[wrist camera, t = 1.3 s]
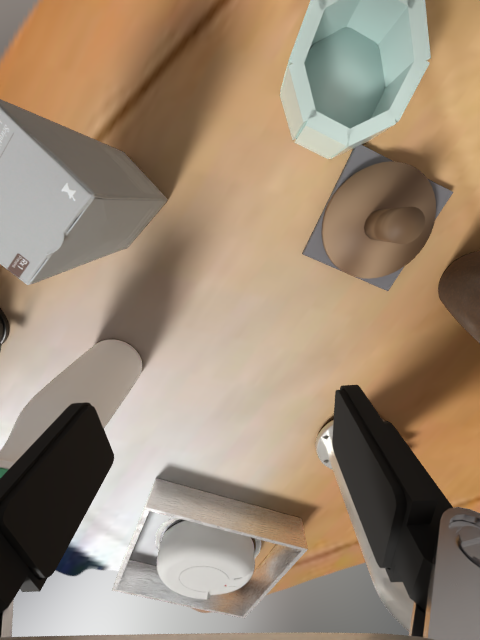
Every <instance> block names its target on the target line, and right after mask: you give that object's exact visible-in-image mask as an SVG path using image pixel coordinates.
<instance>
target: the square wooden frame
mask: <svg viewBox="0 0 480 640" xmlns="http://www.w3.org/2000/svg"><path fill="white" fill-rule="evenodd" d="M149 511H151V512H155V513H159V514H163V515H167V516H171V517H175V518H178V519H182V520H186V521H190V522H194V523H198V524H202V525H205V526H209V527H213V528H217V529H221V530H225V531H229V532H232V533H236V534H240V535H244V536H248V537H252V538H256V539H259V540H263V541H267V542H271V543H275V544H276V546H275V547H274V548H273V549H272V551H271V552H270V553H269V554H268V555H267V557H266V558H265V559H264V560H263V562H262V563H261V564H260V565H259V566H258V568H257V569H256V570H255V571H254V573H253V575H252V577H251V578H250V580H249V581H248V582H247V583H246V584H245V585H244V586H242V587H241V588H239V589H237V590H235V591H232V592H228V593H224V594H218V595H211V597H210V598H209V599H196V598H191V597H187V596H184V595H181V594H178V593H176V592H174V591H173V590H171V589H170V588H168V587H167V586H166V585H165V584H164V583H163V582H162V580H161V579H160V577H159V574H158V571H157V566H154V565H150V564H145V563H141V562H137V561H132V560H129V558H130V556H131V553H132V551H133V549H134V546H135V544H136V542H137V539H138V537H139V534H140V532H141V530H142V527H143V525H144V523H145V520H146V518H147V515H148V513H149ZM307 550H308V548H307V543H306V538H305V532H304V527H303V522H302V518H298V517H294V516H291V515H287V514H284V513H280V512H276V511H273V510H269V509H266V508H262V507H258V506H255V505H251V504H248V503H244V502H240V501H237V500H233V499H230V498H226V497H222V496H219V495H215V494H212V493H208V492H205V491H201V490H197V489H194V488H190V487H187V486H183V485H179V484H176V483H172V482H169V481H165V480H161V479H158V478H156V479H155V481H154V484H153V486H152V489H151V491H150V494H149V496H148V499H147V501H146V504H145V506H144V509H143V511H142V514H141V516H140V519H139V521H138V524H137V526H136V528H135V531H134V533H133V536H132V538H131V541H130V543H129V546H128V548H127V551H126V553H125V556H124V558H123V561H122V564H121V566H120V569H119V572H118V575H117V577H116V580H115V583H114V586H113V589H112V591H117V592H121V593H127V594H131V595H136V596H141V597H145V598H150V599H154V600H159V601H164V602H169V603H174V604H178V605H183V606H187V607H192V608H197V609H202V610H206V611H211V612H216V613H220V614H225V615H230V616H235V617H239V618H245V617H246V616H247V615H248V614H249V613H250V612H251V611H252V610H253V609H254V608H255V606H256V605H257V604H258V603H259V602H260V601H261V600H262V599H263V598H264V597H265V596H266V594H267V593H268V592H269V591H270V590H271V589H272V588H273V587H274V586H275V585H276V583H277V582H278V581H279V580H280V579H281V578H282V577H283V576H284V575H285V574H286V573H287V571H288V570H289V569H290V568H291V567H292V566H293V565H294V564H295V563H296V562H297V560H298V559H299V558H300V557H301V556H302V555H303V554H304V553H305V552H306V551H307Z"/></svg>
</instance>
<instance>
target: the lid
mask: <svg viewBox="0 0 480 640" xmlns="http://www.w3.org/2000/svg"><path fill="white" fill-rule="evenodd" d="M435 216H436V200H435V194H434V191H433V188H432V186H431V184H430V182H429V181H428V179H427V178H426V177H425V175H424V174H423V173H421V172H420V171H419V170H418V169H416V168H415V167H413V166H411V165H408V164H406V163H401V162H392V161H391V162H382V163H378V164H374V165H371V166H369V167H366V168H364V169H362V170H360V171H358V172H356V173H355V174H353V175H352V176H350V177H349V178H348V179H347V180H346V181H345V182H343V183H342V184H341V186H340V187H339V188H338V189H337V190H336V192H335V193H334V194H333V196H332V198H331V199H330V201H329V203H328V205H327V207H326V210H325V213H324V216H323V221H322V231H321V234H322V242H323V246H324V249H325V252H326V254H327V256H328V258H329V259H330V260H331V262H332V263H333V264H334V265H335V266H336V267H337V268H339V269H340V270H341V271H343V272H345V273H347V274H349V275H352V276H354V277H358V278H367V279H370V278H379V277H383V276H386V275H389V274H391V273H394V272H396V271H398V270H399V269H401V268H403V267H404V266H405V265H407V264H408V263H409V262H410V261H411V260H413V259H414V258H415V256H416V255H417V254H418V253H419V252H420V251H421V249H422V248H423V247H424V245H425V243H426V242H427V240H428V238H429V236H430V234H431V231H432V228H433V225H434V221H435Z"/></svg>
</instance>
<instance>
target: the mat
mask: <svg viewBox="0 0 480 640" xmlns="http://www.w3.org/2000/svg"><path fill="white" fill-rule="evenodd" d="M391 161H392V160H390V159H388V158H386V157H384V156H382V155H380V154H378V153H376V152H374V151H372V150H371V149H369V148H367V147H365V146H363V145H359V146H357V147H355V148H354V149H353V151H352V153H351V155H350V157H349V159H348V161H347V163H346V165H345V167H344V169H343V171H342V173H341V175H340V177H339V179H338V181H337V183H336V185H335V187H334V189H333V192H332V194H331V196H330V198H329V200H328V202H327V204H326V206H325V208H324V210H323V212H322V214H321V216H320V218H319V220H318V222H317V224H316V226H315V228H314V230H313V232H312V234H311V236H310V239H309V241H308V243H307V245H306V247H305V249H304V251H303V253H302V254H303V255H306V256H308V257H310V258H313V259H315V260H317V261H320V262H322V263H324V264H326V265H329V266H331V267H333V268H336V269H338V270H340V269H339V268H337V267H336V266H335V265H334V264H333V263H332V262H331V260H330V259H329V258H328V256H327V254H326V252H325V249H324V246H323V242H322V234H321V231H322V221H323V216H324V213H325V210H326V207H327V205H328V203H329V201H330V199H331V198H332V196H333V194H334V193H335V192H336V190H337V189H338V188H339V187H340V186H341V184H342V183H343V182H345V181H346V180H347V179H348V178H349V177H350V176H352V175H353V174H355V173H356V172H358V171H360V170H362V169H364V168H366V167H369V166H371V165H374V164H378V163H382V162H391ZM392 162H394V161H392ZM428 181H429V182H430V184H431V186H432V188H433V191H434V194H435V200H436V216H435V219H436V218H437V216H438V215H439V213H440V212H441V210H442V208H443V207H444V205H445V204H446V202H447V201H448V199H449V198H450V196H451V195H452V193H453V192H452V191H450V190H448V189H446V188H444V187H442V186H440V185H438V184H436V183H434V182H433V181H431V180H429V179H428ZM403 268H404V267H403ZM403 268H401V269H399V270H398V271H396V272H394V273H391V274H389V275H386V276H383V277H379V278H370V279H367V278H359V279H361V280H363V281H366V282H368V283H370V284H373V285H375V286H377V287H379V288H382V289H384V290H386V291H388V290H389V289H390V287H391V286H392V284H393V283H394V281H395V280H396V278H397V277H398V275H399V274H400V272H401V271H402V269H403ZM340 271H341V270H340ZM356 278H358V277H356Z"/></svg>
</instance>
